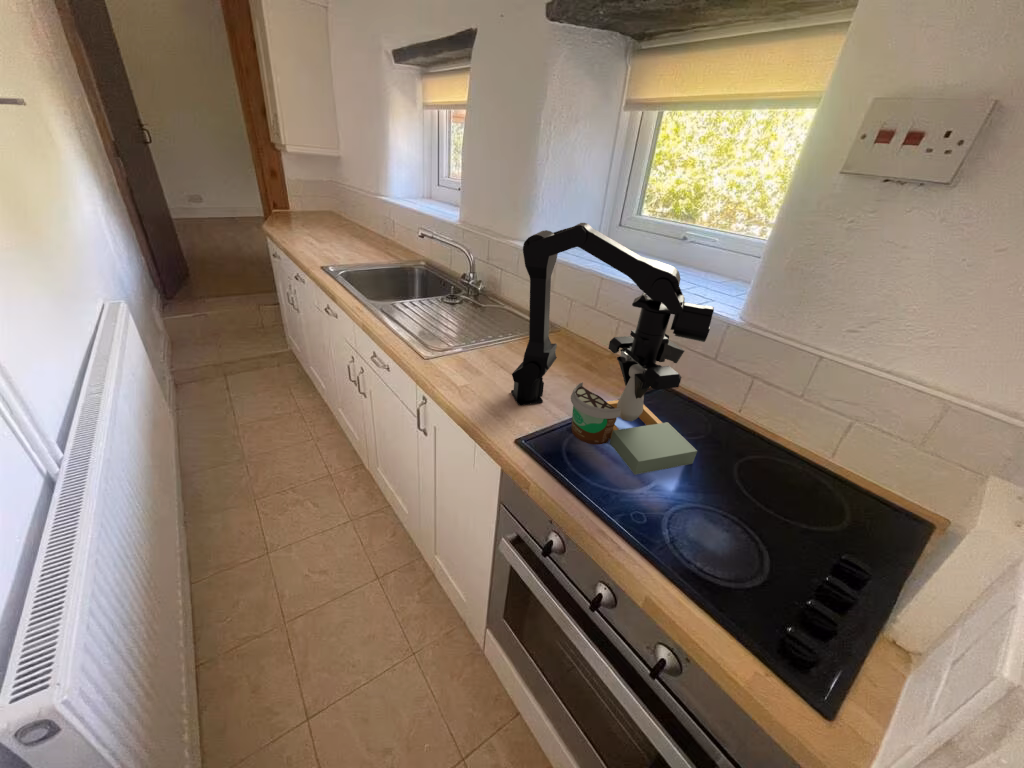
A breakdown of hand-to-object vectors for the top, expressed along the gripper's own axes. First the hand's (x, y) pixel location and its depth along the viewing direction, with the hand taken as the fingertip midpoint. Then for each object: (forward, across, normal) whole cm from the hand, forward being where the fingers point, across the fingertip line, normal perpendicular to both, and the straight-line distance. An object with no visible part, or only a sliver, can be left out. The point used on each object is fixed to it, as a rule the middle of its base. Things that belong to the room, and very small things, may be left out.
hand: (633, 394), depth 91 cm
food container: (+9, -1, +12) cm, 15 cm away
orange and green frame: (+9, -5, 0) cm, 10 cm away
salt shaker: (+6, 0, 0) cm, 6 cm away
